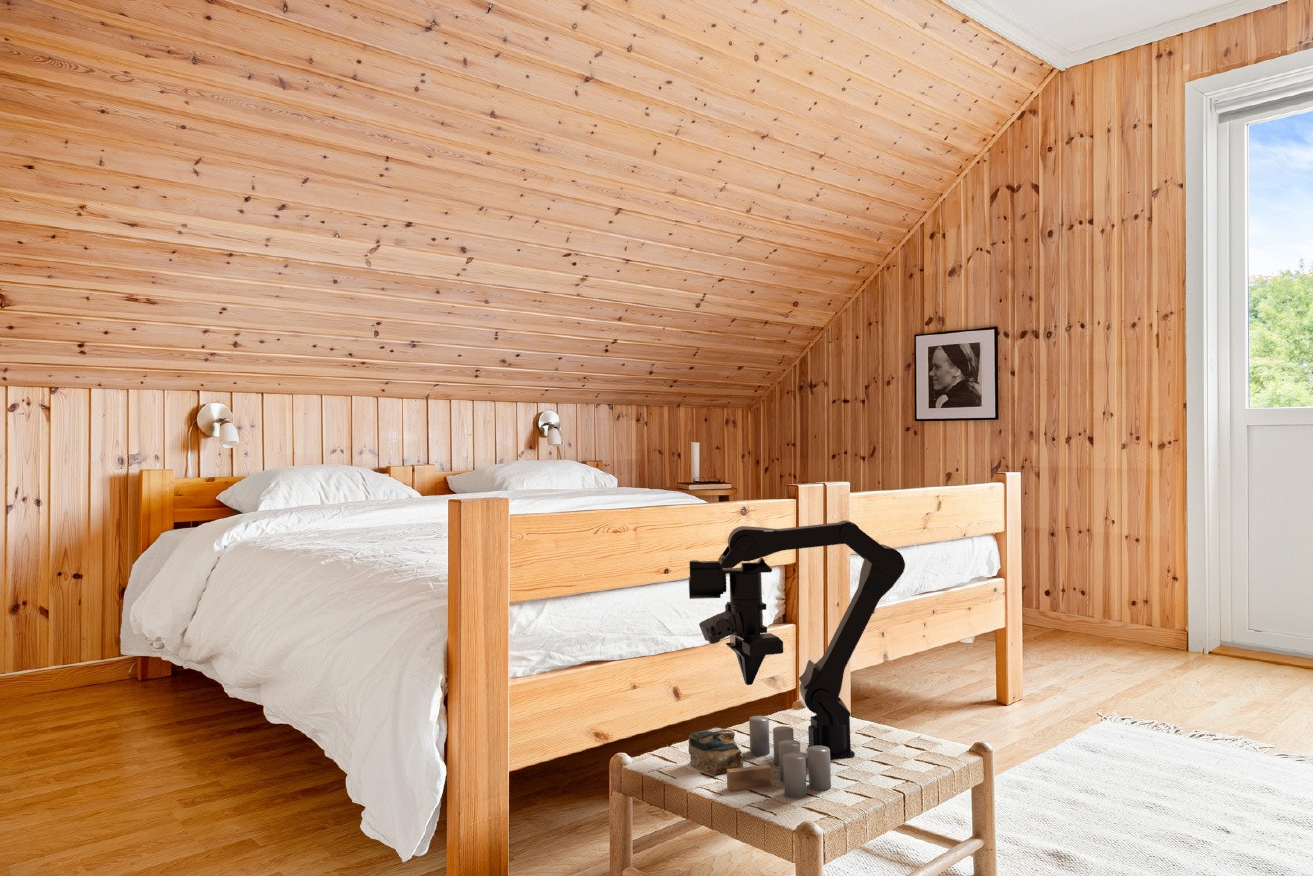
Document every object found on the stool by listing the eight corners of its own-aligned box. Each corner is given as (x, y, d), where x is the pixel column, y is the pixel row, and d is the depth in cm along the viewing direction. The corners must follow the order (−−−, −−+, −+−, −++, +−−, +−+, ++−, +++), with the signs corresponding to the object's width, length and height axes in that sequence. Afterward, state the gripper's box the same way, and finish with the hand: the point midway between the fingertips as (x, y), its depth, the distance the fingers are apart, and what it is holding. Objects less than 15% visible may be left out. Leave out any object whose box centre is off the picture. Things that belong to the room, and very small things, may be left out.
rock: (717, 778, 150) (716, 744, 150) (682, 763, 157) (681, 731, 157) (754, 766, 155) (754, 733, 155) (718, 752, 163) (718, 720, 163)
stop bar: (768, 783, 147) (767, 764, 147) (771, 786, 145) (770, 767, 145) (727, 787, 145) (726, 769, 145) (729, 791, 144) (729, 772, 144)
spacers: (786, 745, 164) (785, 713, 164) (839, 793, 141) (838, 755, 141) (742, 750, 163) (741, 717, 163) (788, 800, 140) (787, 761, 140)
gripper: (687, 592, 167) (689, 676, 167) (721, 610, 149) (724, 703, 149) (742, 588, 170) (745, 670, 170) (783, 604, 152) (786, 696, 152)
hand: (748, 684), depth 160 cm, fingers closed
